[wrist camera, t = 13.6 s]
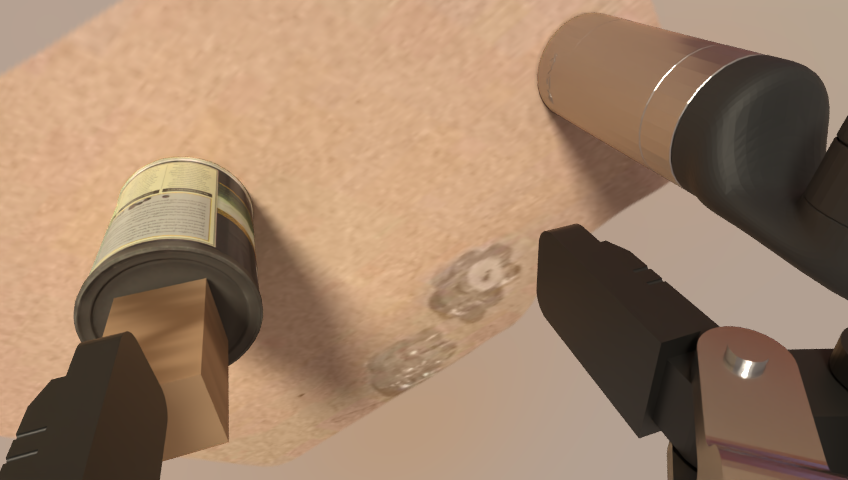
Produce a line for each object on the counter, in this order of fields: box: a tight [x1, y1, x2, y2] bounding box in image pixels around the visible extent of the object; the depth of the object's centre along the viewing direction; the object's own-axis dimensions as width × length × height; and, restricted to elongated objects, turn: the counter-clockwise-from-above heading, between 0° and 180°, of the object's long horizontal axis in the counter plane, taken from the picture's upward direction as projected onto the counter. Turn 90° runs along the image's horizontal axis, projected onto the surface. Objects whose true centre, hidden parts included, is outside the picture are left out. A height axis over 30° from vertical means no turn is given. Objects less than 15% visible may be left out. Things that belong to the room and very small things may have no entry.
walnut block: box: [103, 278, 229, 461], centre depth 28 cm, size 5×5×8 cm
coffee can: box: [74, 157, 263, 366], centre depth 37 cm, size 10×10×14 cm
